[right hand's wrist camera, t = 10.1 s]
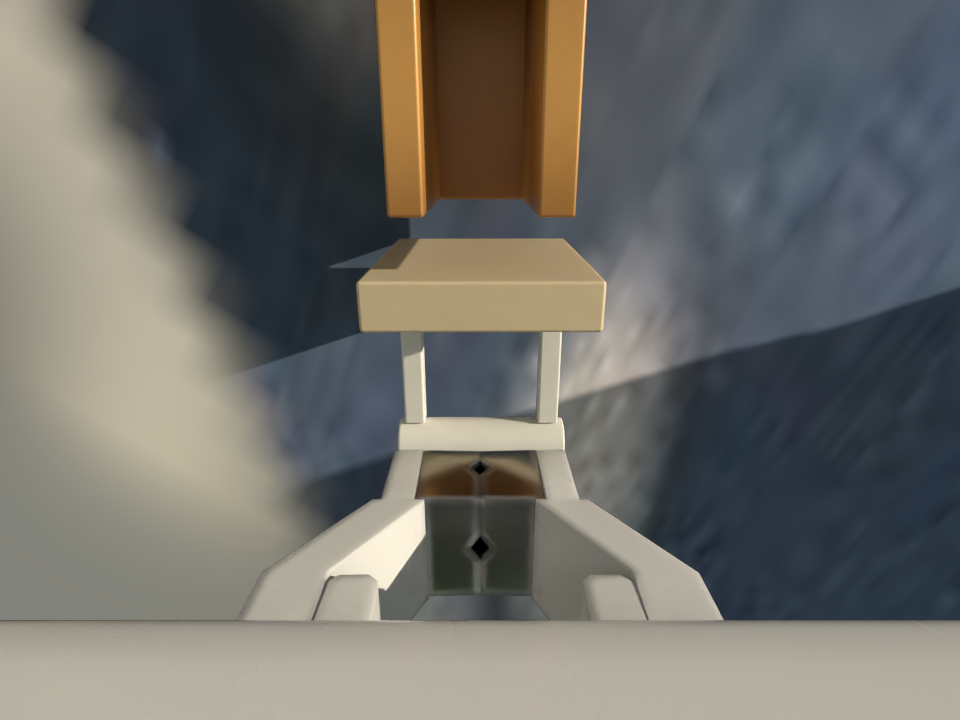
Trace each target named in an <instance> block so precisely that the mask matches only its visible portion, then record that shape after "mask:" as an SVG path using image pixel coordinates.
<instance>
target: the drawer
mask: <svg viewBox="0 0 960 720" xmlns="http://www.w3.org/2000/svg"><path fill="white" fill-rule="evenodd" d="M586 11H587V0H375V15H376V32H377V50H378V67H379V84H380V102H381V119H382V136H383V154H384V171H385V188H386V205H387V215H388V217H390V218H421V217H423V216H424V215H425V214H426V213H427V212H428V211H429V210H430V208H431V207H432V206H433V205H434V204H435V203H436V202H437V201H438V200H439V199H523V200H524V201H525V202H526V203H527V204H528V205H529V206H530V207H531V208H532V209H533V210H534V211H535V213H536V214H537V215H538V216H539V217H574V216H575V210H576V192H577V174H578V156H579V137H580V119H581V101H582V83H583V65H584V47H585V29H586ZM356 291H357V304H358V316H359V329H360V331H361V332H401V350H402V368H403V387H404V406H405V417H403V418H401V420H400V423H399V431H398V450H417V449H423V450H424V451H425V450H453V451H510V450H556V449H562V450H565V436H564V425H563V421H562V419H561V418H560V417H558V397H559V377H560V357H561V338H562V332H600V331H602V329H603V323H604V310H605V297H606V282H605V281H604V280H603V279H602V278H601V277H600V276H599V275H598V274H597V273H596V272H595V270H594V269H593V268H592V267H591V266H590V265H589V264H588V263H587V262H586V261H585V260H584V259H583V258H582V257H581V256H580V255H579V254H578V253H577V252H576V251H575V250H574V249H573V248H572V247H571V246H570V245H569V244H568V243H567V242H566V241H565V240H564V239H399V240H397V241H396V243H395V244H394V245H393V246H392V247H391V248H390V249H389V250H388V251H387V252H386V253H385V254H384V255H383V256H382V257H381V258H380V259H379V260H378V261H377V262H376V263H375V264H374V265H373V266H372V267H371V268H370V269H369V270H368V271H367V272H366V273H365V274H364V275H363V276H362V277H361V278H360V279H359V280H358V281H357V283H356ZM423 332H539V344H538V372H537V399H536V417H426V388H425V362H424V336H423Z"/></svg>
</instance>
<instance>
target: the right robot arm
mask: <svg viewBox="0 0 960 720" xmlns="http://www.w3.org/2000/svg"><path fill="white" fill-rule="evenodd" d="M448 595H511V596H532V599H533V601H534V602H535V603H536V604H537V605H538V607H539V608H540V609H541V610H542V612H543V613H544V614H545V615H546V616H547V618H548V619H549V620H411V619H412V618H413V617H414V616H415V615H416V613H417V612H418V611H419V610H420V608H421V607H422V606H423V605H424V604H425V602H426V601H427V600H428V596H448ZM0 720H960V620H723V618H722V616H721V614H720V612H719V610H718V608H717V606H716V604H715V603H714V601H713V599H712V597H711V595H710V593H709V591H708V589H707V587H706V585H705V584H704V582H703V580H702V578H701V576H700V574H699V573H698V572H697V571H695V570H694V569H692V568H691V567H689V566H688V565H686V564H685V563H683V562H682V561H680V560H678V559H677V558H675V557H674V556H672V555H671V554H669V553H668V552H666V551H665V550H663V549H662V548H660V547H659V546H657V545H656V544H654V543H653V542H651V541H650V540H648V539H647V538H645V537H644V536H642V535H641V534H639V533H638V532H636V531H635V530H633V529H632V528H630V527H628V526H627V525H625V524H624V523H622V522H621V521H619V520H618V519H616V518H615V517H613V516H612V515H610V514H609V513H607V512H606V511H604V510H603V509H601V508H600V507H598V506H597V505H595V504H594V503H592V502H591V501H589V500H588V499H579V497H578V493H577V490H576V487H575V483H574V480H573V476H572V473H571V470H570V466H569V463H568V460H567V456H566V453H565V451H564V450H562V449H556V450H510V451H453V450H425V451H424V450H423V449H417V450H397V451H396V452H395V453H394V456H393V459H392V462H391V466H390V469H389V473H388V476H387V480H386V483H385V486H384V490H383V493H382V497H381V499H372V500H371V501H369V502H368V503H366V504H365V505H363V506H362V507H360V508H359V509H357V510H356V511H354V512H353V513H351V514H350V515H348V516H347V517H345V518H344V519H342V520H340V521H339V522H337V523H336V524H334V525H333V526H331V527H330V528H328V529H327V530H325V531H324V532H322V533H321V534H319V535H318V536H316V537H315V538H313V539H312V540H310V541H309V542H307V543H305V544H304V545H302V546H301V547H299V548H298V549H296V550H295V551H293V552H292V553H290V554H289V555H287V556H286V557H284V558H283V559H281V560H280V561H278V562H277V563H275V564H274V565H272V566H270V567H269V568H267V569H266V570H264V571H263V572H262V573H261V575H260V577H259V578H258V580H257V582H256V584H255V586H254V588H253V590H252V592H251V594H250V596H249V597H248V599H247V601H246V603H245V605H244V607H243V609H242V610H241V612H240V614H239V616H238V618H237V620H0Z"/></svg>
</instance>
